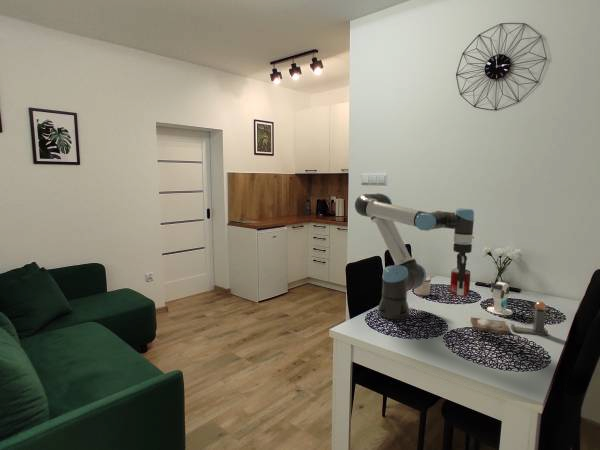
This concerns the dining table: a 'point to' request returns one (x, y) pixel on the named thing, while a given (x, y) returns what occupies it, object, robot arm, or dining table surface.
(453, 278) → the canned food
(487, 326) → the plate
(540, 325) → the press lever
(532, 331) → the lever rail
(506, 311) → the panda figurine
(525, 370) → the dining table surface
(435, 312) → the dining table surface
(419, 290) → the teacup with lid
